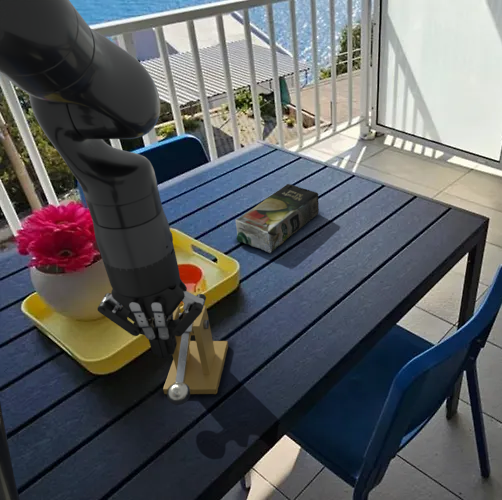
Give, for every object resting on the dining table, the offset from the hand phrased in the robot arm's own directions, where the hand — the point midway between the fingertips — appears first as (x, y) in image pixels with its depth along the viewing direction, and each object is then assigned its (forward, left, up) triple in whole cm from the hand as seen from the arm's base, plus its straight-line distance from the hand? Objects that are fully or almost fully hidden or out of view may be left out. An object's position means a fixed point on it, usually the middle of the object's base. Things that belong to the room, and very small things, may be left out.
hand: (166, 353), depth 66 cm
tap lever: (+5, +2, -7) cm, 9 cm away
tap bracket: (+8, +3, -13) cm, 16 cm away
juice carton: (+50, +9, -14) cm, 53 cm away
